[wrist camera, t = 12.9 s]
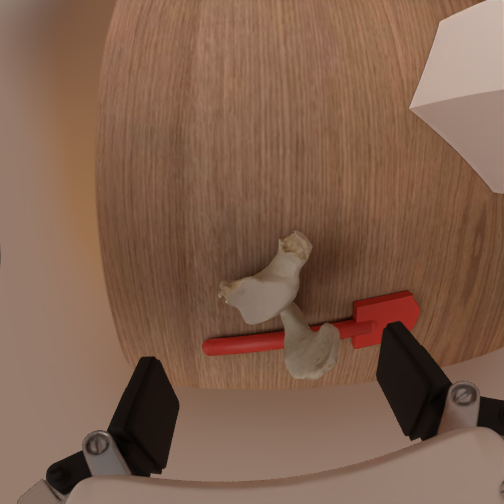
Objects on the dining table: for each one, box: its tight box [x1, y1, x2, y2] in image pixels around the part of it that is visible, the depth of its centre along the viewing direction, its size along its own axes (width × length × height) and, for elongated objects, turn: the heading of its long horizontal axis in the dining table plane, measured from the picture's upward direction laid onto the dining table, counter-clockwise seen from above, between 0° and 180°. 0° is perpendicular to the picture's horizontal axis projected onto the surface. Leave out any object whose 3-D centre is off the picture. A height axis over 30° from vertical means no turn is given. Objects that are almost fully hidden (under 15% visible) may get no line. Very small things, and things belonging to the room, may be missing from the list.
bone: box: [218, 229, 340, 380], centre depth 16 cm, size 9×6×10 cm
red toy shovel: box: [202, 290, 419, 356], centre depth 21 cm, size 18×4×1 cm, turn 98°
